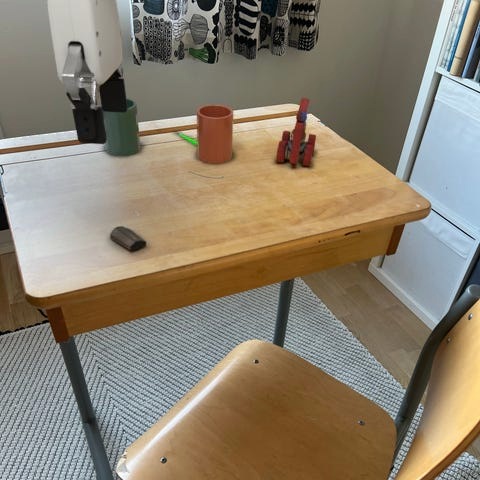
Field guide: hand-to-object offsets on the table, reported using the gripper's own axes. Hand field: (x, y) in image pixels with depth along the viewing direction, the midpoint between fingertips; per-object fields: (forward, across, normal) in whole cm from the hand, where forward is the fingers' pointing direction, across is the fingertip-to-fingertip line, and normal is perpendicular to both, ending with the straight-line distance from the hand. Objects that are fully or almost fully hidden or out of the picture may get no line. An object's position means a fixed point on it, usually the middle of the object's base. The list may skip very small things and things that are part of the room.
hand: (104, 126), depth 62 cm
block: (+21, -6, -1) cm, 22 cm away
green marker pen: (+21, -44, +4) cm, 49 cm away
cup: (+21, -39, +9) cm, 45 cm away
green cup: (+20, -39, -10) cm, 45 cm away
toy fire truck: (+21, -41, +25) cm, 52 cm away
